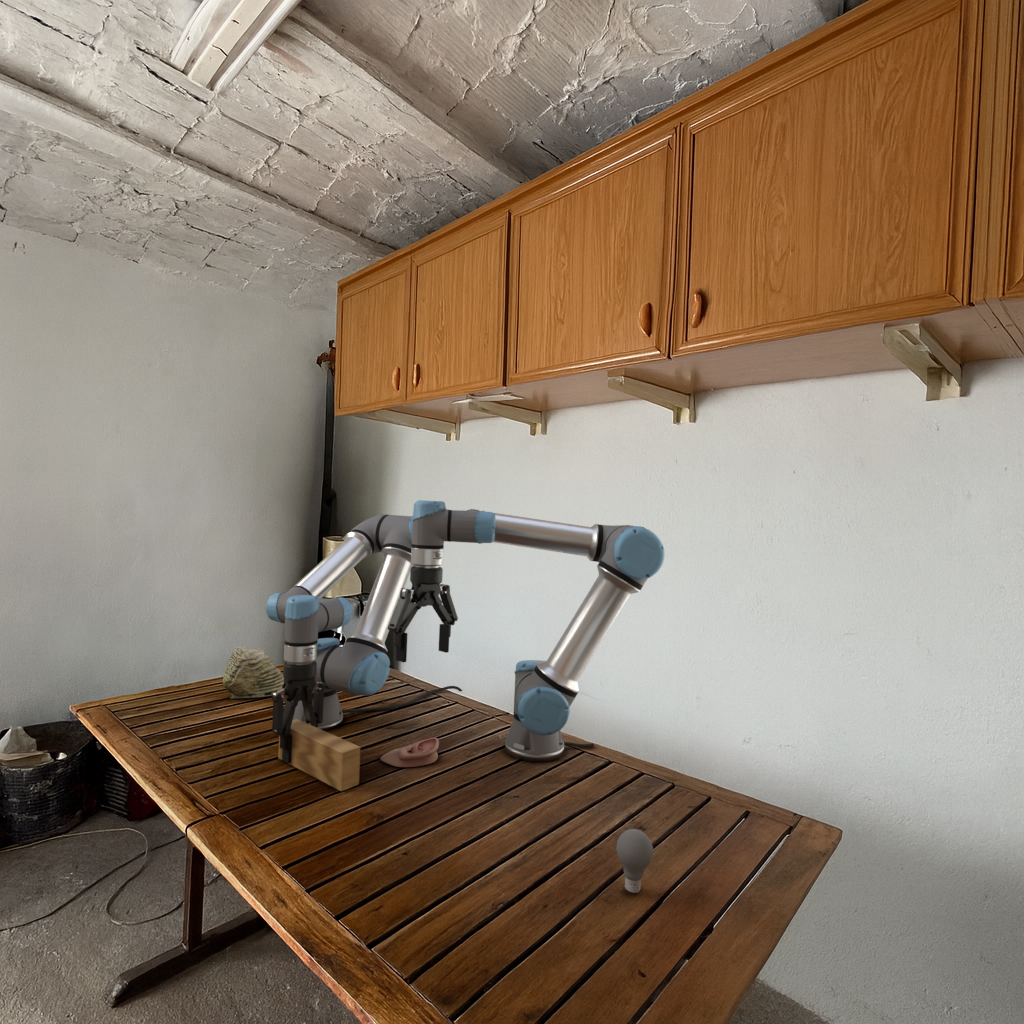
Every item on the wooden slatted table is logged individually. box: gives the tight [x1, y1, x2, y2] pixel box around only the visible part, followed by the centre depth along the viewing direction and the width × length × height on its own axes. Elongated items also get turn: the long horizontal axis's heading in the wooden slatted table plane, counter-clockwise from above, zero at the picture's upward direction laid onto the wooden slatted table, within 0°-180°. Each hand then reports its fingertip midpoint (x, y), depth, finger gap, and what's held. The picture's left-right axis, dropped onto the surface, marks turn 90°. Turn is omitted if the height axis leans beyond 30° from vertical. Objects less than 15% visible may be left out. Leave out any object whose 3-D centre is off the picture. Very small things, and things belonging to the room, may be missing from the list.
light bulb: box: [615, 828, 654, 894], centre depth 106 cm, size 6×6×10 cm
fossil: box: [222, 646, 284, 699], centre depth 198 cm, size 9×18×15 cm, turn 132°
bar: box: [277, 719, 361, 792], centre depth 146 cm, size 25×5×8 cm, turn 51°
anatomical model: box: [379, 737, 440, 768], centre depth 155 cm, size 13×4×12 cm
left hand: (296, 757), depth 151 cm, fingers closed on bar, 5 cm apart
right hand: (423, 656), depth 149 cm, fingers open, 13 cm apart
